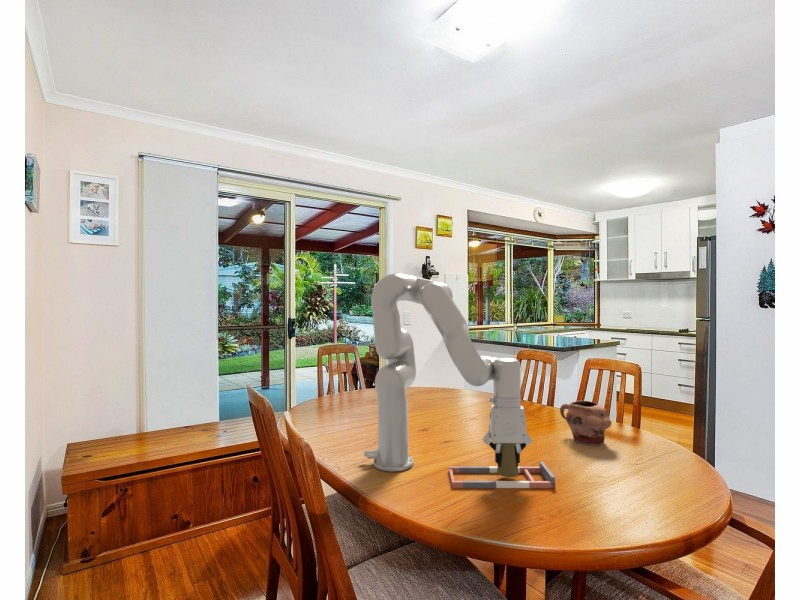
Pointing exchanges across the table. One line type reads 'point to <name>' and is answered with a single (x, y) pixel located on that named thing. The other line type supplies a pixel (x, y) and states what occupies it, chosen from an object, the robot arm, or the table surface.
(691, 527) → the table surface
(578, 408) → the sculpted ceramic mug
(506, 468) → the cork
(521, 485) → the frame
